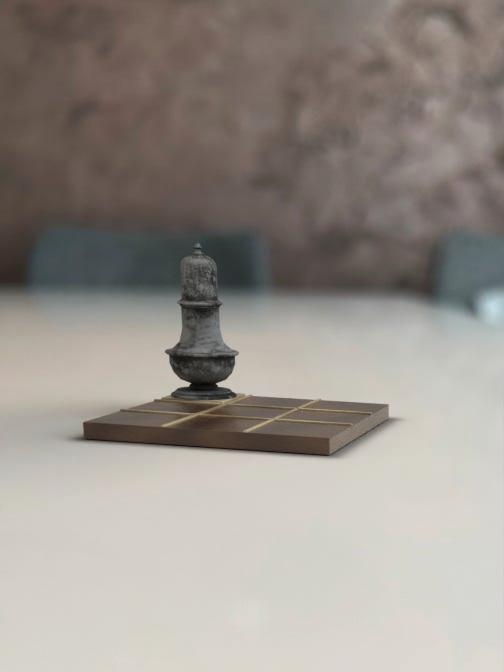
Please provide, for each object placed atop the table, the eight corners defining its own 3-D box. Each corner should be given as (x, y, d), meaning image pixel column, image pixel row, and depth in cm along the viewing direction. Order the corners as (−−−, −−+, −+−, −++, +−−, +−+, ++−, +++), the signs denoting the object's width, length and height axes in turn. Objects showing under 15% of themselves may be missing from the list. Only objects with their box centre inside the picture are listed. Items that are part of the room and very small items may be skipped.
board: (83, 438, 78) (82, 419, 78) (184, 405, 95) (184, 389, 95) (329, 455, 76) (329, 434, 76) (388, 418, 93) (389, 401, 92)
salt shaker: (204, 402, 88) (197, 242, 84) (151, 395, 91) (142, 239, 86) (255, 396, 92) (250, 243, 88) (203, 388, 95) (197, 241, 91)
